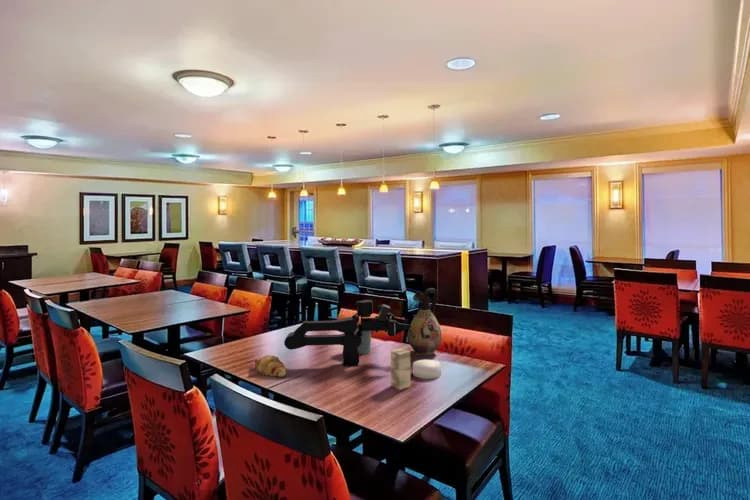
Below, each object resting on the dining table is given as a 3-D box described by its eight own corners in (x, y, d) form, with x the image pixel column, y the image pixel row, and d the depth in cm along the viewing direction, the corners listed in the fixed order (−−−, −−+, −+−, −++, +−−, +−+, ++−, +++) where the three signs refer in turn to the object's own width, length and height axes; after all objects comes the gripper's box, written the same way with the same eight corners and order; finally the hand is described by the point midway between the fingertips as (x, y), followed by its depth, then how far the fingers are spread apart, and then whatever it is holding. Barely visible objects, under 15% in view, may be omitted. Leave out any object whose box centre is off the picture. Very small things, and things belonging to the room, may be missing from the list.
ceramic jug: (418, 359, 187) (417, 291, 186) (402, 350, 202) (401, 287, 200) (451, 354, 194) (451, 288, 192) (433, 346, 208) (433, 284, 207)
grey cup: (371, 354, 196) (370, 328, 195) (349, 355, 196) (348, 329, 195) (371, 348, 206) (371, 323, 205) (350, 348, 206) (350, 323, 205)
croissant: (290, 385, 170) (298, 365, 172) (271, 379, 163) (279, 358, 165) (261, 371, 184) (269, 353, 186) (242, 366, 177) (250, 347, 180)
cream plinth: (415, 379, 164) (415, 369, 164) (411, 369, 175) (411, 360, 175) (444, 378, 165) (444, 368, 164) (438, 368, 176) (437, 359, 175)
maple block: (391, 385, 158) (390, 350, 157) (401, 382, 161) (401, 348, 160) (400, 389, 154) (399, 354, 153) (410, 386, 157) (410, 351, 156)
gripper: (374, 310, 173) (412, 309, 174) (371, 301, 192) (406, 301, 193) (374, 337, 174) (412, 336, 175) (371, 326, 193) (406, 325, 194)
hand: (409, 323), depth 184 cm, fingers open, 9 cm apart
